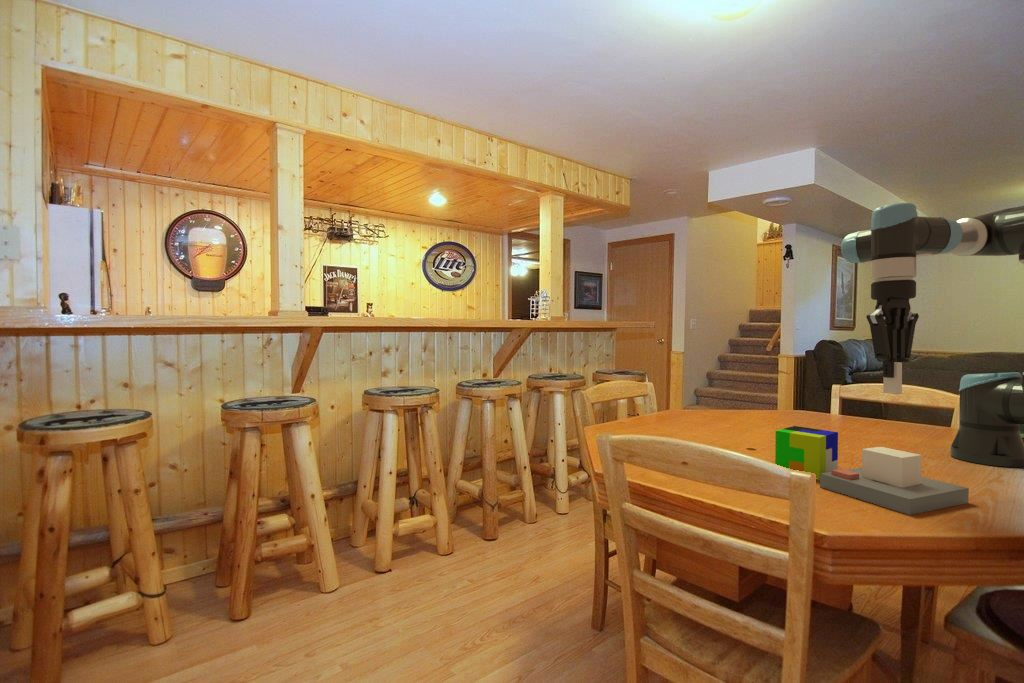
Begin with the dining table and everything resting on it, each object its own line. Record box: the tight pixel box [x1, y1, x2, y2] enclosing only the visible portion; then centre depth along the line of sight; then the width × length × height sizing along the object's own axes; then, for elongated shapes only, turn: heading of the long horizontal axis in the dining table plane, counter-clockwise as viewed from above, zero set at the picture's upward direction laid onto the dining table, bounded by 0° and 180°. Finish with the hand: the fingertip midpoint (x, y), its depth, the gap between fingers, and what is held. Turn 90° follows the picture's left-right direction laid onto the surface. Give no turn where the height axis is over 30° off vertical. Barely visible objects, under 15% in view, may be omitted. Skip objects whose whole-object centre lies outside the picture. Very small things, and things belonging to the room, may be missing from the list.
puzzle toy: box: [774, 425, 839, 481], centre depth 122 cm, size 10×10×10 cm
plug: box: [861, 446, 922, 488], centre depth 105 cm, size 6×8×9 cm
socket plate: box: [819, 466, 970, 516], centre depth 105 cm, size 18×18×4 cm
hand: (892, 393), depth 105 cm, fingers closed
